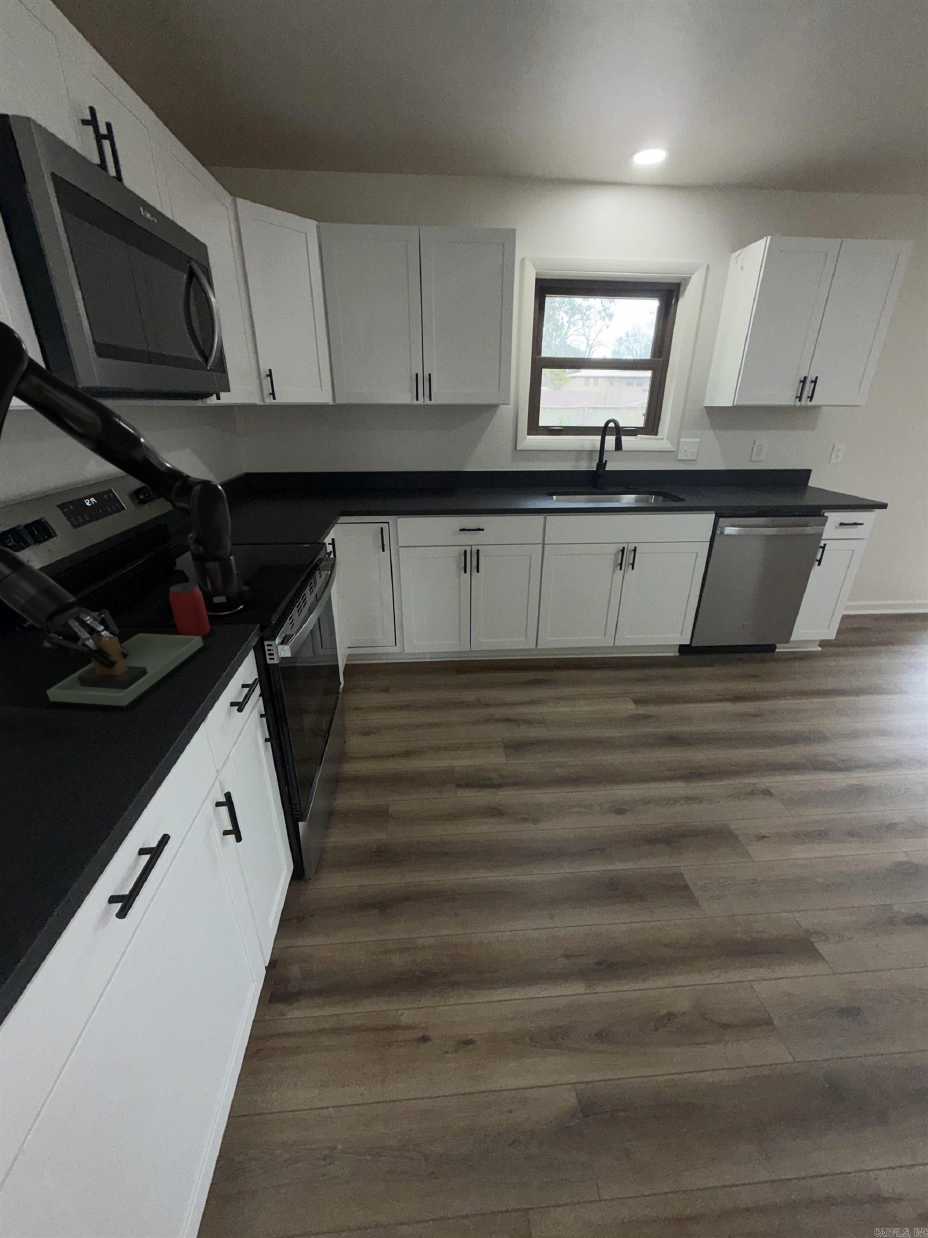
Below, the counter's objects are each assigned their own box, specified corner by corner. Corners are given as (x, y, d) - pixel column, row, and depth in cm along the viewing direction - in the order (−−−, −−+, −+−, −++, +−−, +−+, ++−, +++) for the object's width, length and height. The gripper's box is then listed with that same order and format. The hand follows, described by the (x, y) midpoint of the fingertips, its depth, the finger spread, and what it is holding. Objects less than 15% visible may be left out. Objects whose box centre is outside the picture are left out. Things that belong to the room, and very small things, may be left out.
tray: (142, 645, 111) (139, 633, 109) (204, 648, 109) (201, 636, 108) (51, 705, 89) (45, 691, 88) (126, 710, 88) (121, 696, 87)
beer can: (198, 642, 112) (186, 593, 107) (173, 640, 113) (159, 591, 108) (217, 630, 117) (206, 582, 113) (192, 627, 119) (181, 580, 114)
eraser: (80, 686, 93) (65, 643, 89) (101, 672, 97) (87, 631, 94) (130, 689, 92) (116, 646, 88) (148, 675, 96) (136, 634, 93)
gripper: (9, 599, 81) (100, 668, 85) (78, 572, 94) (155, 633, 98) (-8, 626, 84) (81, 692, 88) (62, 596, 97) (137, 655, 100)
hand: (119, 661), depth 93 cm, fingers closed on eraser, 2 cm apart
